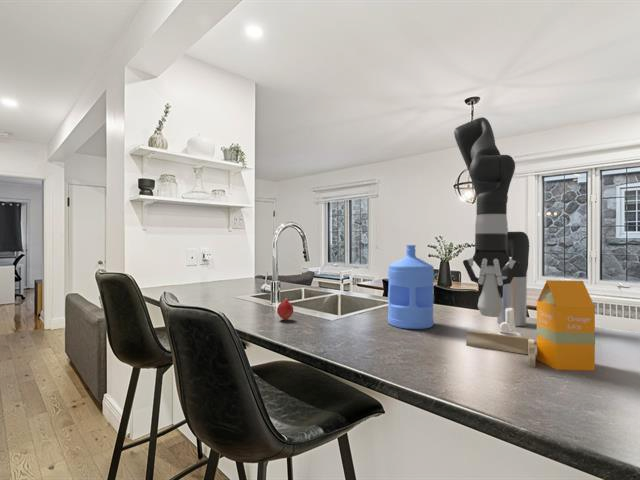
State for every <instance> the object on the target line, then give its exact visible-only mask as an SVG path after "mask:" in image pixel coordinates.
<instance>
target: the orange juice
mask: <svg viewBox="0 0 640 480" xmlns="http://www.w3.org/2000/svg"><path fill="white" fill-rule="evenodd" d="M595 325H596V306H595V304H594V301H593V300H592V297H591V295H590V293H589V292H588V289H587V287H586V285H585V283H584V281H583V280H552V279H551V280H546V281H545V284H544V286H543V288H542V290H541V292H540V294H539V296H538V299H537V300H536V360H538V361H540V363H541V362H542V363H543V364H545V365H546V366H548V367H550V368H552V369H554V370H557V371H559V370H561V371H563V370H565V371H596V370H595V369H596V367H595V366H596V365H595V364H596V363H595V362H596V360H595V359H596V358H595V357H596V355H595V354H596V353H595V352H596V351H595V350H596V347H595V346H596V326H595Z"/></svg>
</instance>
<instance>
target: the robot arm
mask: <svg viewBox="0 0 640 480" xmlns="http://www.w3.org/2000/svg"><path fill="white" fill-rule="evenodd" d="M453 131H454V132H453V135H454V139H455V141H456V145H457V147H458V149H459V151H460V155H461V156H462V159H463V161H464V163H465V166H466V169H467V170H468V174H469V177H470V179H471V182H472V186H473V189H474V192H475V195H476V217H475V228H474V229H475V230H474V232H475V234H474V242H475V243H474V254H473V256H472V257H470V258H469V259H464V260H463V261H462V264H463V265H464V269H465V270H466V272H467V274H468V277H469V280H470V281H471V282H474V283H475V284H477V285H478V288H477V294H478V295H477V296H478V298H479V297H480V295H481V293H482V289H483V281H484V277H485V267H486V266H487V265H493V266H494V267H495V269H496V277H497V283H498V286H497V289H498V293H499V298H500V296H501V300H502V305H503V309H502V311H501V313H500V315H499V317H496V322H497V323H498V324H499V325H500V324H501V323H502V322H506V316H505V309H506V308H513V309H514V324H515V327H526V326H527V286H528V285H527V284H528V283H527V276H528V275H527V272H528V268H529V256H530V239H529V236H528V235H527V233H526V232H524V231H509V228H508V218H507V217H508V216H507V215H508V214H507V213H508V212H507V209H508V205H507V204H508V201H509V197H508V196H509V195H508V194H509V190H510V189H509V188H510V187H511V186H510V185H511V182H512V180H513V176H514V173H515V169H516V162H515V160H514V159H513V157H512V156H511V155H509V154H501V153H500V151H499V148H498V147H497V145H496V141H495V135H494V131H493V128H492V126H491V123H490V121H489V120H488V119H487V118H486V117H477V118H474V119H473V120H471V121H468V122H466V123H464V124H461V125H459V126H457V127H456V128H454V130H453ZM474 263H475V264H476V266H478V269H479V273H478V274H479V276H478V277H477V276H476V274H475V271H474V269H473V267H474ZM483 267H484V268H483ZM497 268H498V269H497ZM497 271H498V272H497Z"/></svg>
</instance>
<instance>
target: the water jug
mask: <svg viewBox="0 0 640 480" xmlns="http://www.w3.org/2000/svg"><path fill="white" fill-rule="evenodd" d="M405 251H406V256H405V257H402V258H401V259H399V260H397V261H394V262H392V263H390V264H389V265H388V271H387V272H388V273H387V275H388V276H387V277H388V289H387V290H388V292H387V300H388V308H387V309H388V310H387V311H388V315H387V323H388V324H389V325H391V326H392V327H395V328H399V329H406V330H427V329H430V328H431V327H433V326H434V322H435V319H434V301H435V300H434V299H435V297H434V296H435V295H434V278H435V271H434V270H435V269H434V268H435V267H434V265H432V264H431V263H428V262H426V261H424V260H422V259H421V258H418V257H417V256H416V244H415V245H414V244H409V245H408V244H406V250H405Z"/></svg>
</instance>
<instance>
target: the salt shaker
mask: <svg viewBox="0 0 640 480" xmlns="http://www.w3.org/2000/svg"><path fill="white" fill-rule="evenodd" d="M483 268H484V267H483ZM497 269H498V268H497ZM497 272H498V271H497ZM497 286H498V283H497V277H496V269H495V267H494V266H493V265H487V266H486V267H485V277H484V281H483V289H482V293H481V295H480V297H479V296H478V303H477V308H478V311H479V313H480V315H481V316H484V317H487V318H488V317H489V318H497V317H499V315H500V313H501V311H502V309H503V305H502V300H501V296H500V298H499V293H498V289H497Z"/></svg>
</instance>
